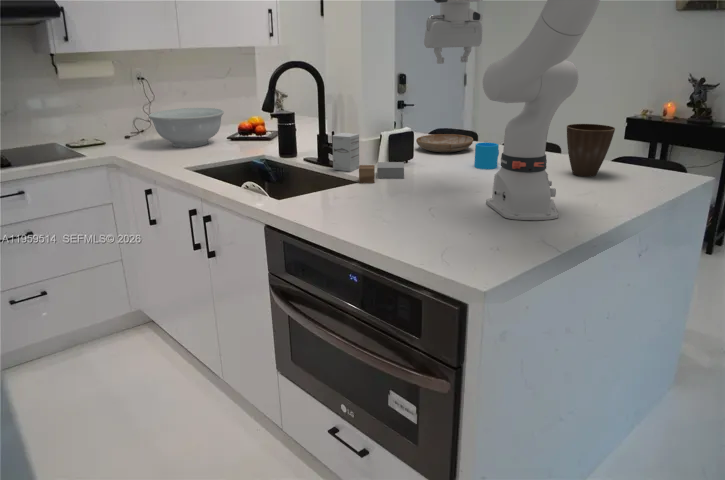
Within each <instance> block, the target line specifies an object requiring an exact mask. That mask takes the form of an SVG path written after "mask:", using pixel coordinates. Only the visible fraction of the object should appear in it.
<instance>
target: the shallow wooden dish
mask: <svg viewBox="0 0 725 480" xmlns="http://www.w3.org/2000/svg"><path fill="white" fill-rule="evenodd" d="M415 141H416V144H417V146H419V147H420V148H422V149H424V150H426V151H429V152H434V153H456V152H461V151H464V150H466V149H468V148H469V147H470V146H472V145H473V142H474V138H473V137H472V136H469V135H463V134H454V133H451V134H450V133H446V134H445V133H444V134H443V133H440V134H438V133H437V134H428V135H427V134H426V135H422V136H418V137H417V138H416V140H415Z"/></svg>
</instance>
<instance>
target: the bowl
mask: <svg viewBox="0 0 725 480" xmlns="http://www.w3.org/2000/svg"><path fill="white" fill-rule="evenodd" d="M224 113H225V112H224V110H223V109H221V108H215V107H214V108H213V107H212V108H211V107H190V108H189V107H187V108H175V109H167V110H161V111H155V112H152V113H150V114H148V118H149V119H150V120H151V121H152V123H153V125H154V129H155V131H156V133H157V134H158V135H159V136H160V137H161V138H162V139H164V140H166V141H169V142H171V143H172V146H173V147H176V148H184V149H185V148H195V147H196V148H197V147H202V146H205V145H207V144H208V143H209V141H208V140H209V139H212V138H213V137H215V136H216V135H217V134H218V133H219V130H220V127H221V124H222V123H221V121H222V117H223V115H224Z"/></svg>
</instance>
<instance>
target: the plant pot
mask: <svg viewBox="0 0 725 480" xmlns="http://www.w3.org/2000/svg"><path fill="white" fill-rule="evenodd" d="M615 131H616V127H613V126H611V125H606V124H598V123H596V124H595V123H572V124H568V125H566V144H567V151H568V159H569V163H570V167H571V171H572V174H573V175H574V176H578V177H579V176H580V177H587V178H588V177H595V176H596V175H597V174H598V172H599V170H600V168H601V166H602V165H603V162H604V160H605V158H606V156H607V155H608V151H609V148H610V146H611V143H612V141H613V138H614V134H615Z"/></svg>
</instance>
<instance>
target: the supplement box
mask: <svg viewBox="0 0 725 480" xmlns="http://www.w3.org/2000/svg"><path fill="white" fill-rule="evenodd" d="M359 165H360V133H351V132H350V133H349V132H338V133H336V134H333V135H332V170H333V171H342V172H343V171H344V172H347V173H350V172H354V171H355V170H359Z"/></svg>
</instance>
